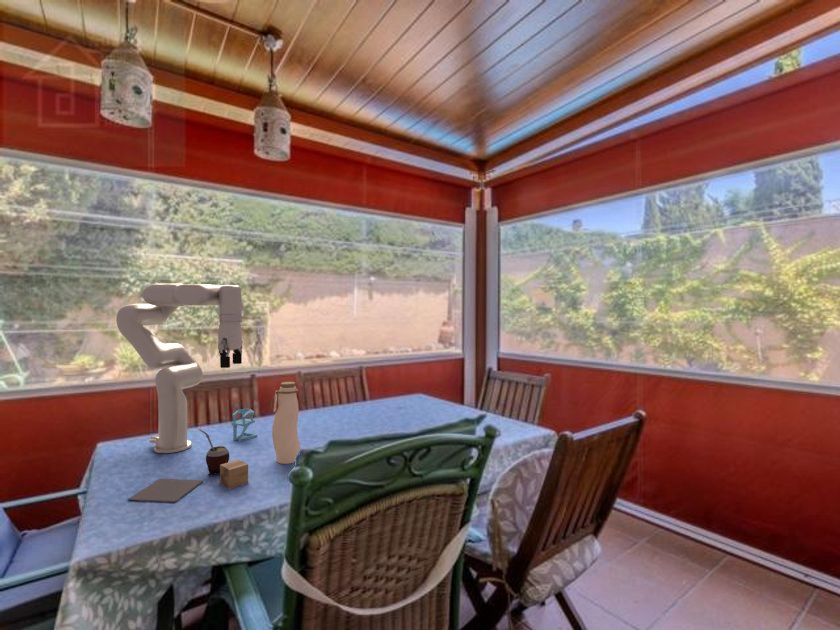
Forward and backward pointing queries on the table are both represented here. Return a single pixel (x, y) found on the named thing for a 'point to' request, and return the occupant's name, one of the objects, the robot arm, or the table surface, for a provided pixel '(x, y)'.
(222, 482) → the brown cube
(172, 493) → the rubber mat
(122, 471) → the table surface
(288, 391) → the water bottle
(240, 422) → the chair
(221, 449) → the mate gourd
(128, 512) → the table surface
